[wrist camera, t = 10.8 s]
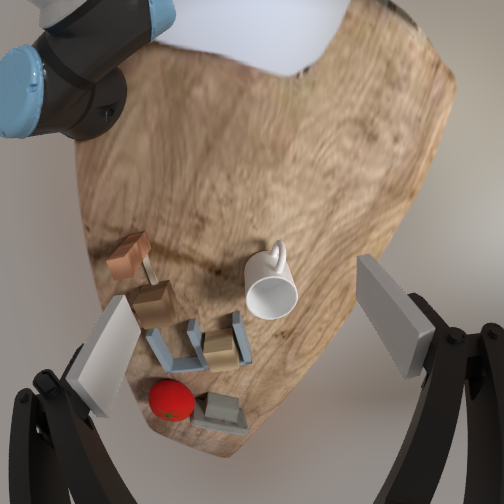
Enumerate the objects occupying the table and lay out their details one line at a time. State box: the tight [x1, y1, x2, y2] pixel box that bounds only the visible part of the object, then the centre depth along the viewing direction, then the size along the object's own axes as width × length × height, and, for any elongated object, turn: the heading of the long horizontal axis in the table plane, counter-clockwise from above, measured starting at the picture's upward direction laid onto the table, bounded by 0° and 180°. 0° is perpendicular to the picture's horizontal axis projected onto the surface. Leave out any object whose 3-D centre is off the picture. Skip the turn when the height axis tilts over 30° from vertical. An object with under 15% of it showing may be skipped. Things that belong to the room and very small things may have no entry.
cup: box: [244, 240, 298, 320], centre depth 48 cm, size 8×12×10 cm
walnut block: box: [106, 231, 179, 330], centre depth 47 cm, size 17×6×11 cm, turn 11°
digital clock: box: [190, 392, 249, 435], centre depth 65 cm, size 16×9×11 cm, turn 56°
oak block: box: [203, 328, 239, 372], centre depth 57 cm, size 6×6×7 cm
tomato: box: [149, 380, 195, 422], centre depth 62 cm, size 11×12×10 cm
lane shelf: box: [146, 311, 252, 374], centre depth 58 cm, size 12×20×4 cm, turn 101°
